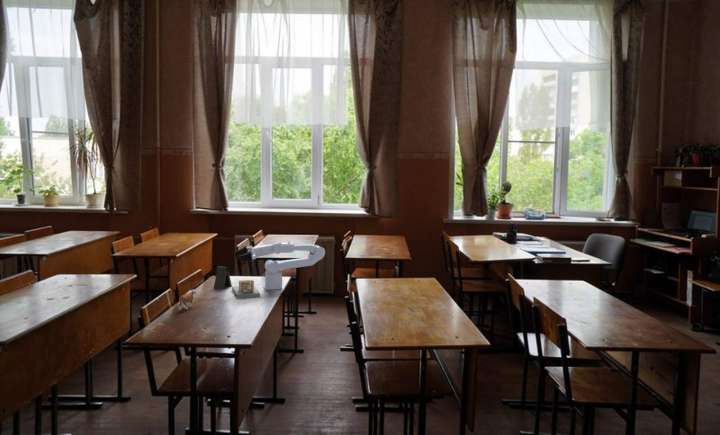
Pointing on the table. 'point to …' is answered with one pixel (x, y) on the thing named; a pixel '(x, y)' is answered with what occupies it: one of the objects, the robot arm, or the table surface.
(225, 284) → the phone stand
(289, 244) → the robot arm
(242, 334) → the table surface
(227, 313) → the table surface
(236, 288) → the deck
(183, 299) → the bull figurine
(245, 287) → the block
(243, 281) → the tunnel
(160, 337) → the table surface
